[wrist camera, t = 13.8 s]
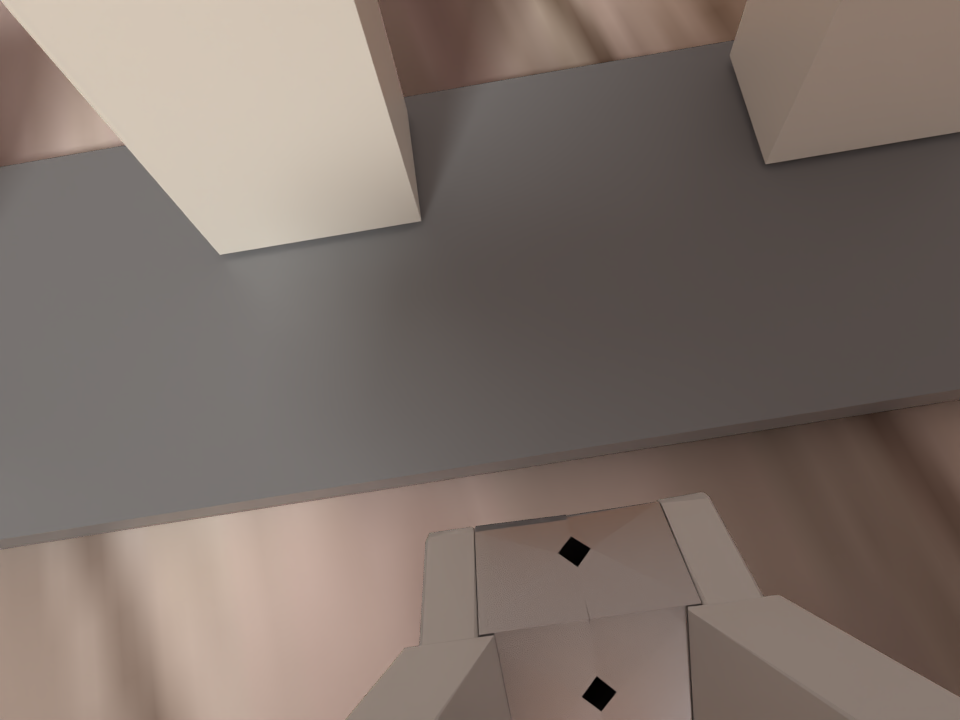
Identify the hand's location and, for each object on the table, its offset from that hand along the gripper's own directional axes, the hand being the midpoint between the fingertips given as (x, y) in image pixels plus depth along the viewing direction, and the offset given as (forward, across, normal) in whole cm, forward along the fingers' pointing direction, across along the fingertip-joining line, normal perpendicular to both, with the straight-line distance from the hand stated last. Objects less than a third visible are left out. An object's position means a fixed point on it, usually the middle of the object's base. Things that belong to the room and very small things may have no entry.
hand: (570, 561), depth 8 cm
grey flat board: (+15, +5, +2) cm, 16 cm away
